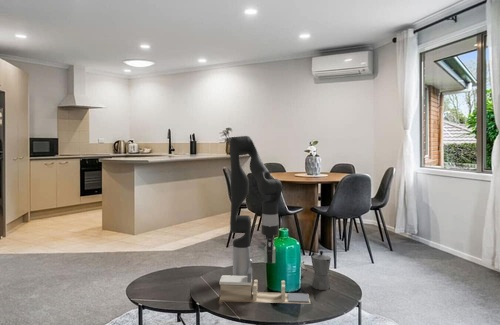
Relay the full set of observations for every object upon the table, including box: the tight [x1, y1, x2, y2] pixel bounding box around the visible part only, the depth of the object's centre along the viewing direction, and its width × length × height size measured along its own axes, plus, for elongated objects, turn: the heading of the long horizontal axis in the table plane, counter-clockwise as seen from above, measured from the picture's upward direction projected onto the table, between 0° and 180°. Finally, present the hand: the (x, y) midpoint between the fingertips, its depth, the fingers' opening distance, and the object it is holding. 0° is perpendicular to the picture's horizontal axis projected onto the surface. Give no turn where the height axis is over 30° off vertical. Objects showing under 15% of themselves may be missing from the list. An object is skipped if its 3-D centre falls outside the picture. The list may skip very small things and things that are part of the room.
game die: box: [300, 261, 308, 278], centre depth 213 cm, size 9×8×10 cm
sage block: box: [263, 245, 276, 264], centre depth 178 cm, size 5×5×6 cm
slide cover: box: [218, 266, 253, 285], centre depth 179 cm, size 9×14×5 cm, turn 86°
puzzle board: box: [218, 279, 311, 305], centre depth 179 cm, size 12×40×8 cm, turn 86°
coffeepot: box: [310, 250, 332, 291], centre depth 197 cm, size 15×9×18 cm, turn 23°
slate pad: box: [287, 292, 310, 302], centre depth 178 cm, size 9×9×1 cm
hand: (269, 260), depth 178 cm, fingers closed on sage block, 5 cm apart
